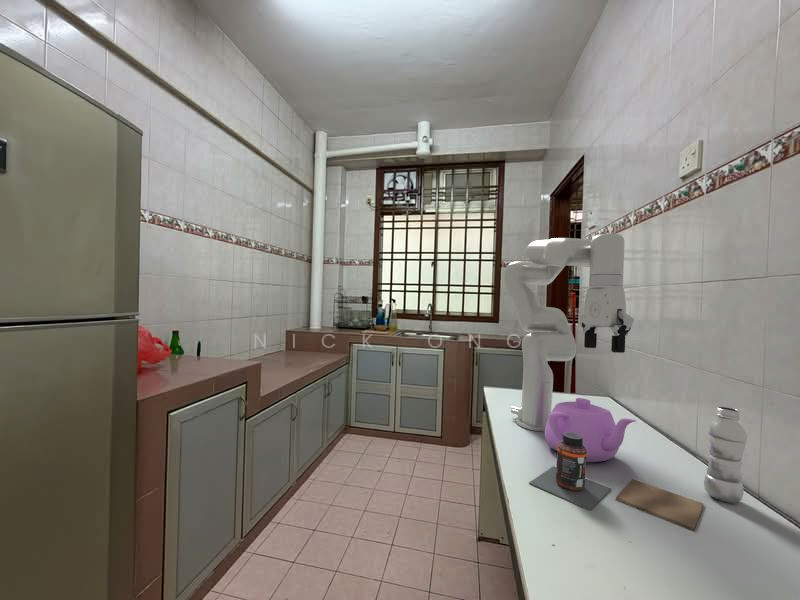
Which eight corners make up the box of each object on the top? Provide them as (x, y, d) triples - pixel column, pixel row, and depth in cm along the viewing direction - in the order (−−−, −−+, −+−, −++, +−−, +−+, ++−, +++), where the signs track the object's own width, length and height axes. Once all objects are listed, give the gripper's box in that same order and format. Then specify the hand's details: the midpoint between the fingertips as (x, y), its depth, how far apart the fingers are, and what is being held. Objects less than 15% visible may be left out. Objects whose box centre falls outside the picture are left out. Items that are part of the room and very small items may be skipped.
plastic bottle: (695, 490, 82) (700, 404, 82) (722, 491, 82) (727, 405, 82) (723, 507, 75) (728, 413, 75) (752, 507, 76) (757, 414, 76)
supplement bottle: (588, 494, 77) (591, 442, 77) (559, 489, 78) (562, 438, 78) (580, 480, 83) (583, 432, 83) (552, 476, 84) (555, 429, 84)
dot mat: (528, 483, 81) (529, 482, 81) (553, 467, 90) (553, 466, 90) (590, 510, 71) (590, 509, 71) (611, 489, 80) (611, 488, 80)
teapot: (524, 446, 102) (527, 394, 102) (575, 438, 111) (578, 390, 111) (598, 486, 81) (602, 420, 81) (653, 472, 90) (657, 413, 90)
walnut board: (615, 499, 76) (615, 497, 76) (632, 480, 85) (632, 478, 85) (693, 530, 66) (693, 528, 66) (703, 505, 75) (703, 503, 75)
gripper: (571, 284, 99) (568, 345, 98) (618, 279, 82) (616, 354, 81) (595, 285, 100) (593, 346, 100) (647, 281, 83) (644, 355, 82)
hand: (603, 350), depth 90 cm, fingers open, 9 cm apart
